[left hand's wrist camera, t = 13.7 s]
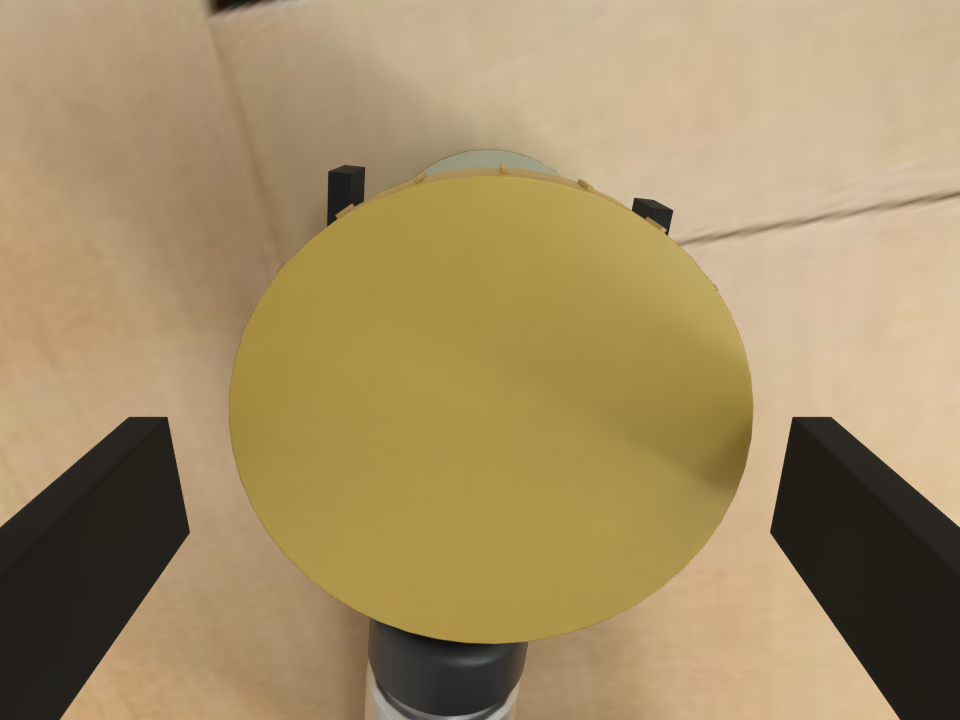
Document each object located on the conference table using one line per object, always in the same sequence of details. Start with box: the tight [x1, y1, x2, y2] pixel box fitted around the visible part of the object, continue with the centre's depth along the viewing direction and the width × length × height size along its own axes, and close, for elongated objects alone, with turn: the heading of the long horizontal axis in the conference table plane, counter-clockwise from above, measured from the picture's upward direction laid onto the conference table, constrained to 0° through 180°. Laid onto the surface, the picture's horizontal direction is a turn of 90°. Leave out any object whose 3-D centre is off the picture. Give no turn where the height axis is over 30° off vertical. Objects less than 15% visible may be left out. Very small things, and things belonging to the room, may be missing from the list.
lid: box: [229, 163, 753, 644], centre depth 15 cm, size 11×11×2 cm
